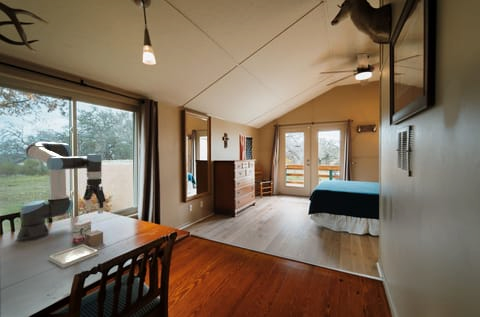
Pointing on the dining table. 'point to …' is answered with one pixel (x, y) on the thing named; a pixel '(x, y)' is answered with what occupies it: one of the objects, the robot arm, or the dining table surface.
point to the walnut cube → (93, 238)
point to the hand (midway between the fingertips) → (94, 211)
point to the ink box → (81, 230)
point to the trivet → (73, 255)
